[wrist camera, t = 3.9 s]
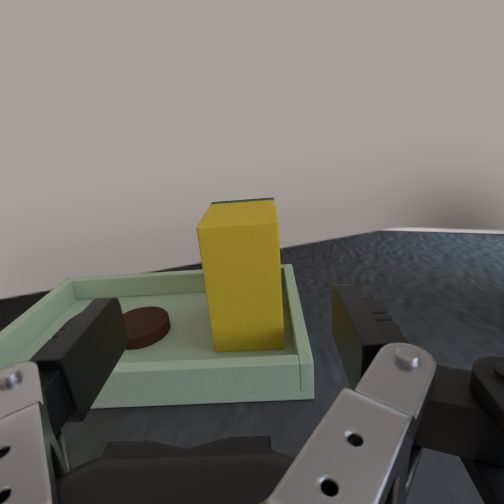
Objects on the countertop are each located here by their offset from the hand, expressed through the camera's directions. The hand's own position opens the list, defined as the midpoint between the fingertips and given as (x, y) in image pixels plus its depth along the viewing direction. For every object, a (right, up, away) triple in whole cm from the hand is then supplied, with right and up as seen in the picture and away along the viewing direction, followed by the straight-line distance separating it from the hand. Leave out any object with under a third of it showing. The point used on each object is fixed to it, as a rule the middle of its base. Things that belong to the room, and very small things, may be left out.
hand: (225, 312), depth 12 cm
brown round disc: (-8, -4, +13) cm, 16 cm away
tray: (-6, -4, +13) cm, 15 cm away
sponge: (+1, -3, +13) cm, 13 cm away
